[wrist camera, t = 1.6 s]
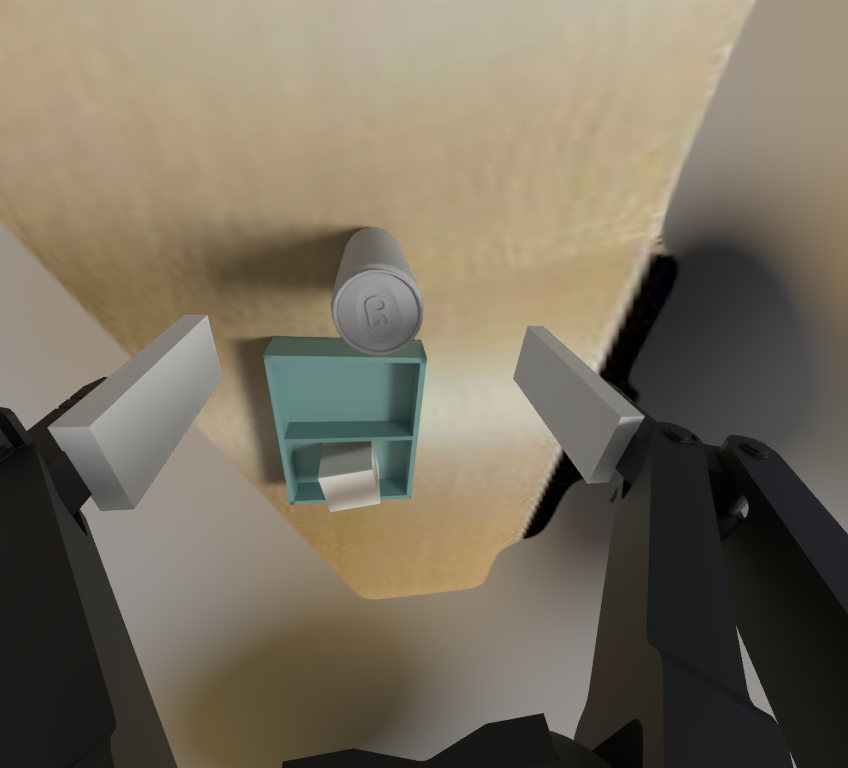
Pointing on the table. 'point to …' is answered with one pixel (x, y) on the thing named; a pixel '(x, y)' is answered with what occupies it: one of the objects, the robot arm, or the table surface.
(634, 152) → the table surface
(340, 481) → the cream block
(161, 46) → the table surface
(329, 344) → the box
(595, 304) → the table surface
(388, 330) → the beverage can
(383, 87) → the table surface
